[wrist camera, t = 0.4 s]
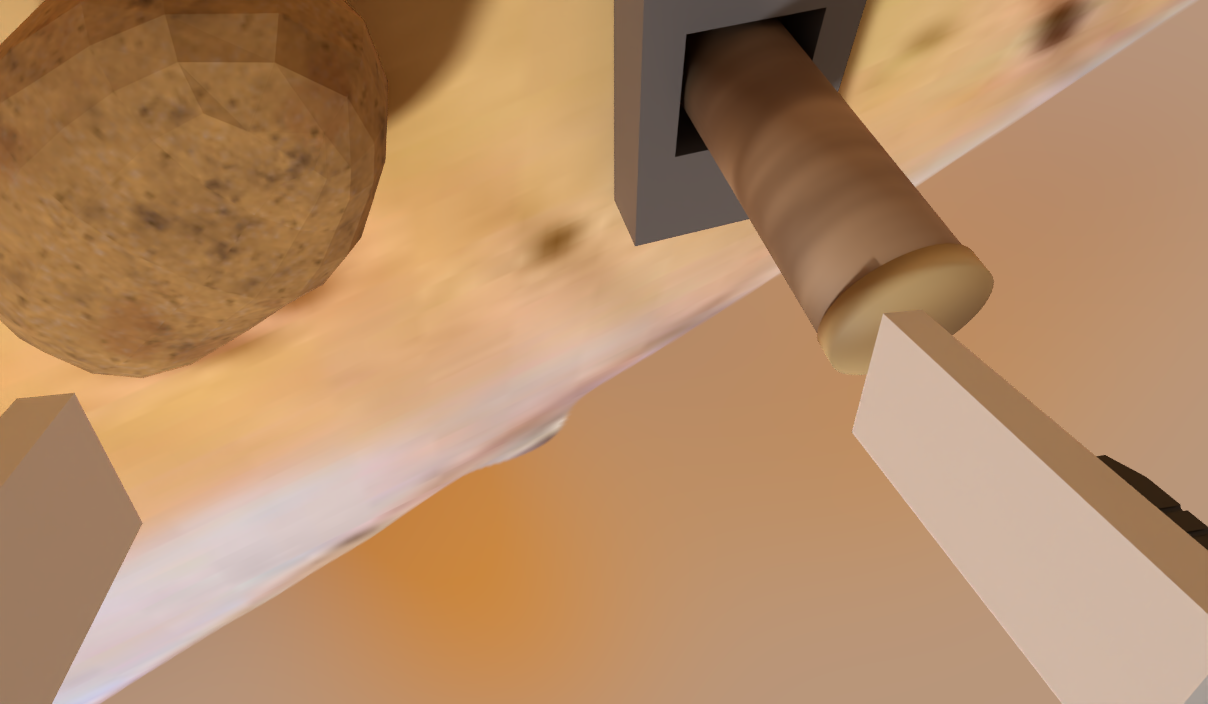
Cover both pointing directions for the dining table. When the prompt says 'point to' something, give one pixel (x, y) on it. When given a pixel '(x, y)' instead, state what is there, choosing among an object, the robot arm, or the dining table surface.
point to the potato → (179, 170)
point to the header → (660, 123)
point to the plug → (824, 192)
